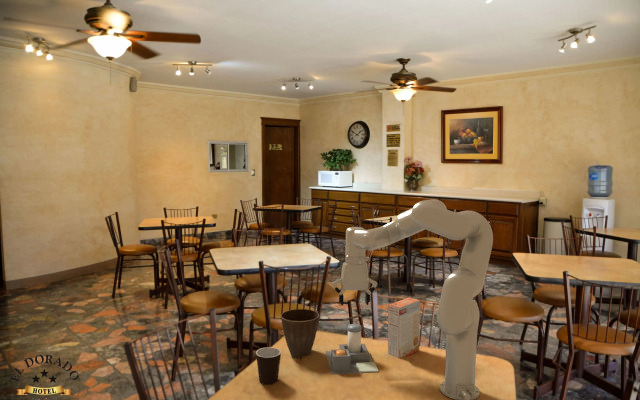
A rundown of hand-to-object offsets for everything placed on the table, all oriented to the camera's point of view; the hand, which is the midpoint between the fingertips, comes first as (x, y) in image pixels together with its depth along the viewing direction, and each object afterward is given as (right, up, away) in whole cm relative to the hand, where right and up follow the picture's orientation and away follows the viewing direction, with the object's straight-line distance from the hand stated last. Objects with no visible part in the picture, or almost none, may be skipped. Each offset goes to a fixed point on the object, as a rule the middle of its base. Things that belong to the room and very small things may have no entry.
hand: (354, 304), depth 177 cm
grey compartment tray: (-2, -22, -3) cm, 22 cm away
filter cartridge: (0, -21, +2) cm, 21 cm away
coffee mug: (-30, -23, -15) cm, 41 cm away
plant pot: (-21, -21, +6) cm, 30 cm away
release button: (-6, -19, -8) cm, 22 cm away
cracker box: (+20, -21, +8) cm, 30 cm away
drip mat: (+4, -22, -8) cm, 24 cm away
